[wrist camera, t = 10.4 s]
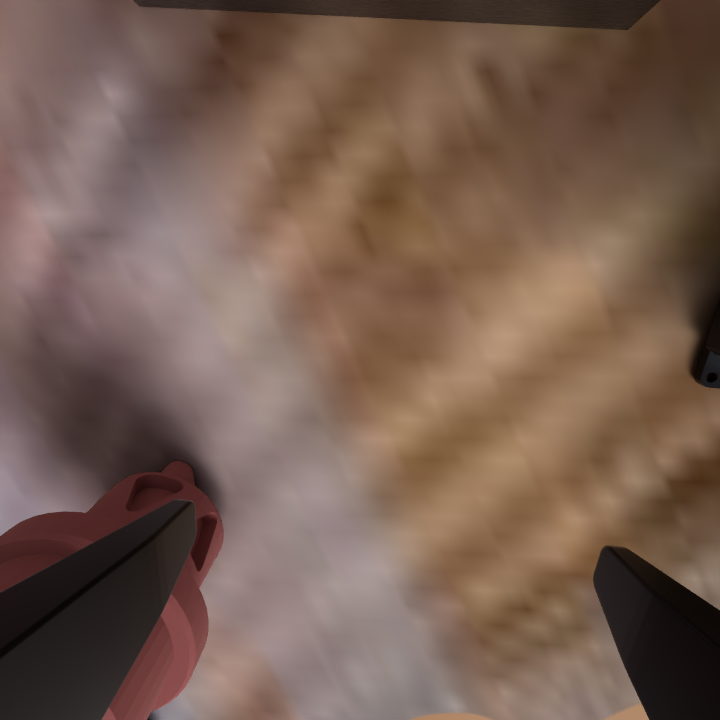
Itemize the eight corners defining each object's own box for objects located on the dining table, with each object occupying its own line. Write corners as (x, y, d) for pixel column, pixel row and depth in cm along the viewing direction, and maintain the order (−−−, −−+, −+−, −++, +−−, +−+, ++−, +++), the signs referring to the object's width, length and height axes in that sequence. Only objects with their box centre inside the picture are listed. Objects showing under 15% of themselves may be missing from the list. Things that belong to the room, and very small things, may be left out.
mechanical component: (99, 553, 25) (99, 416, 22) (249, 586, 25) (269, 453, 22) (-161, 829, 13) (-235, 613, 10) (123, 894, 13) (130, 696, 10)
